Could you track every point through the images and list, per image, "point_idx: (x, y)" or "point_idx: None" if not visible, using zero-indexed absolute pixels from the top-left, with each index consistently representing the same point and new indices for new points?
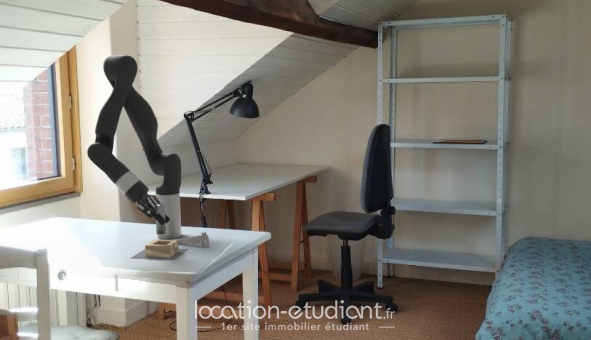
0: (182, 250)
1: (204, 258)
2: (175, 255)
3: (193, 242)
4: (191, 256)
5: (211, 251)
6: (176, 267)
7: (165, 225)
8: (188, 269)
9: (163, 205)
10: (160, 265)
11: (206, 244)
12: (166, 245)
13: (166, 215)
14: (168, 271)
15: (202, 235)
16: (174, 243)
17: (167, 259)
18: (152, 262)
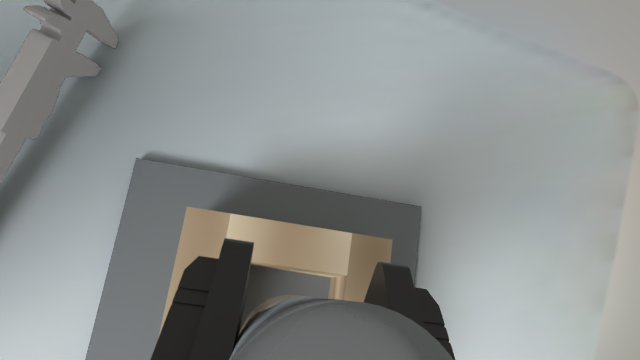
0: (181, 196)
1: (351, 45)
2: (316, 220)
3: (34, 129)
4: (304, 123)
5: (187, 18)
6: (537, 173)
7: (290, 295)
8: (565, 105)
9: (396, 328)
10: (507, 275)
11: (104, 34)
12: (368, 269)
13: (232, 291)
14: (611, 202)
15: (60, 24)
16: (279, 222)
17: (414, 253)
18: None
